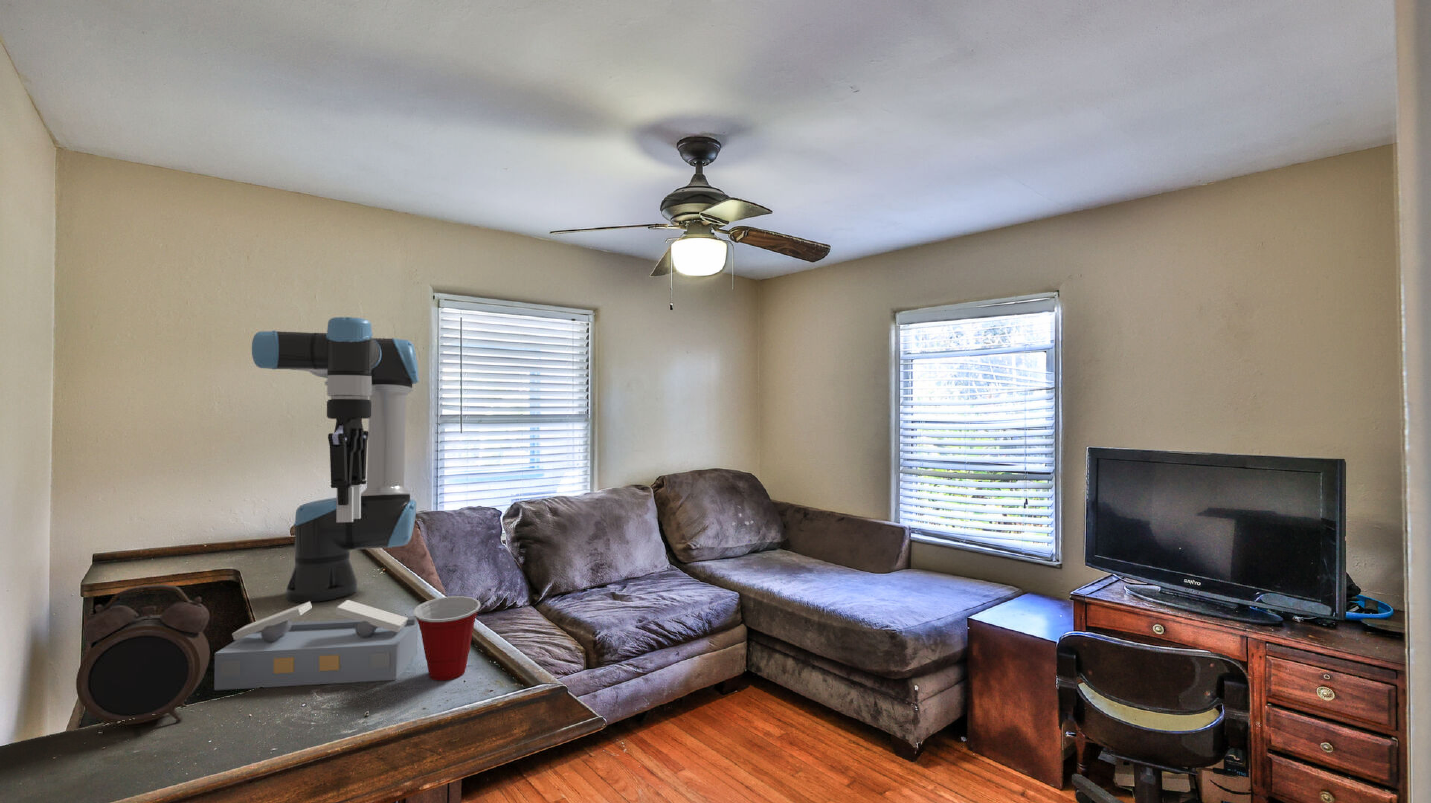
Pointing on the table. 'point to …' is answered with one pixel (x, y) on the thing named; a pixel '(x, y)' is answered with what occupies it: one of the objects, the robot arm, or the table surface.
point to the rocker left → (273, 624)
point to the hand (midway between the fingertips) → (348, 519)
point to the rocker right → (370, 618)
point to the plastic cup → (447, 634)
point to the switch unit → (316, 656)
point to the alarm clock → (143, 659)
